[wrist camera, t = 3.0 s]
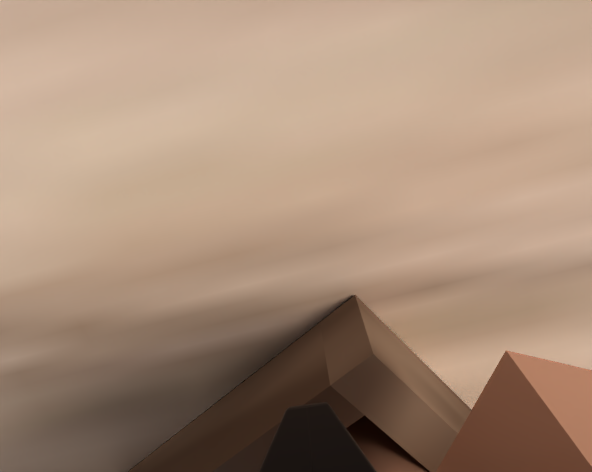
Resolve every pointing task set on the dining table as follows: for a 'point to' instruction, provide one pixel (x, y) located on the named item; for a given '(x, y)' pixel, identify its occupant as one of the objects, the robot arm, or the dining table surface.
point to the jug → (508, 424)
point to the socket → (323, 398)
